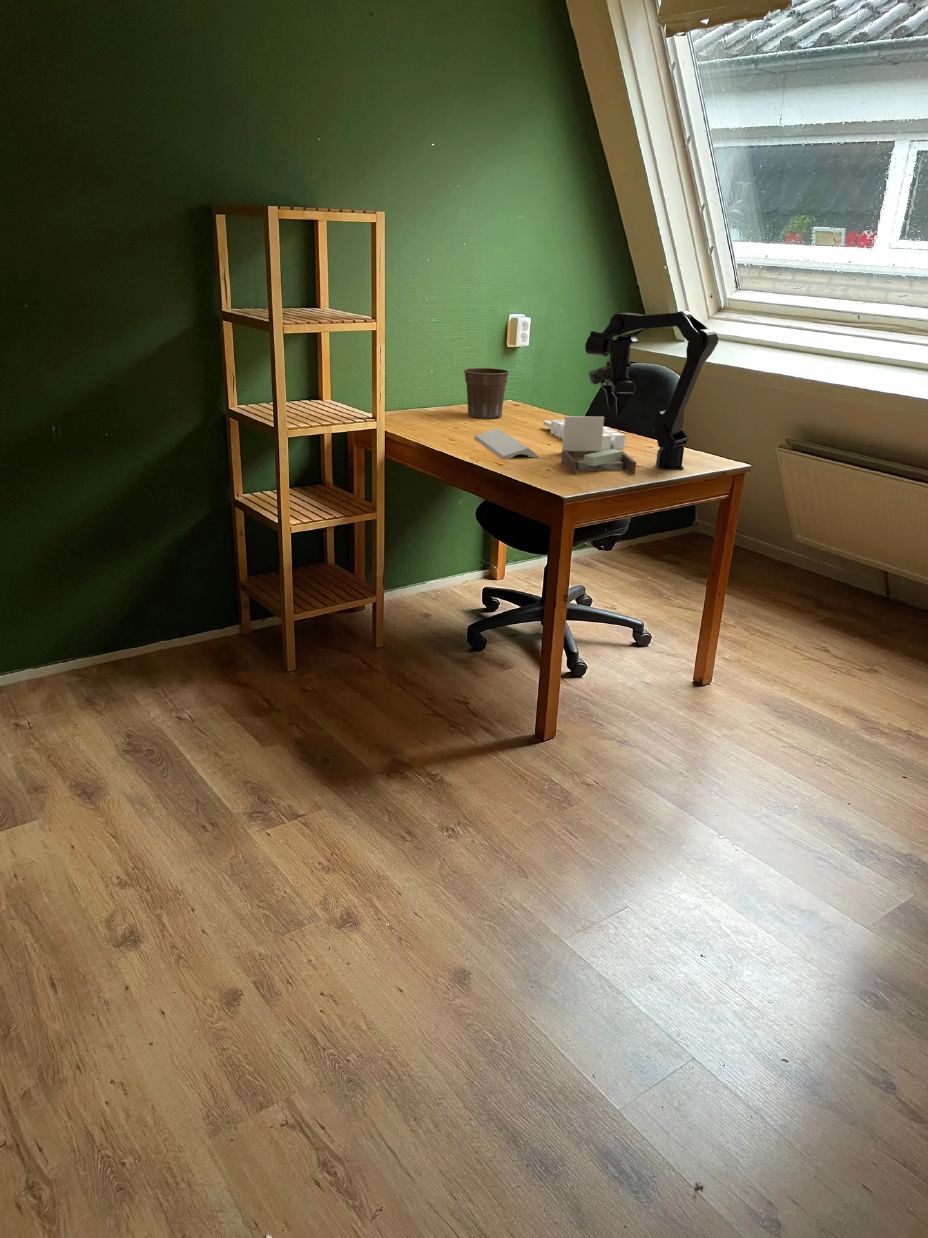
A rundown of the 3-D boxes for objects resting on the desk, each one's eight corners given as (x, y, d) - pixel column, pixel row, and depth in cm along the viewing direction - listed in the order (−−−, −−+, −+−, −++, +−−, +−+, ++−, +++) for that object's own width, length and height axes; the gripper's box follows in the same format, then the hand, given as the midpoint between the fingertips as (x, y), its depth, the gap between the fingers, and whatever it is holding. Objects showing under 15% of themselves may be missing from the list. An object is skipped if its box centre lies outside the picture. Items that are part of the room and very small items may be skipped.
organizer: (587, 436, 277) (541, 415, 307) (586, 452, 279) (540, 429, 309) (625, 434, 281) (575, 414, 312) (623, 450, 283) (574, 428, 313)
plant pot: (458, 411, 333) (459, 366, 326) (501, 411, 336) (503, 367, 329) (466, 420, 318) (468, 373, 312) (511, 420, 321) (513, 373, 315)
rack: (621, 462, 266) (622, 450, 264) (635, 474, 253) (636, 462, 252) (561, 462, 264) (562, 450, 262) (572, 474, 251) (573, 461, 249)
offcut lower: (618, 468, 261) (619, 460, 260) (622, 471, 258) (623, 463, 257) (574, 468, 259) (575, 460, 258) (578, 471, 256) (578, 463, 255)
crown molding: (473, 439, 291) (473, 428, 290) (509, 439, 294) (509, 428, 293) (502, 461, 266) (502, 449, 264) (540, 459, 269) (541, 447, 267)
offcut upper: (611, 457, 263) (612, 448, 262) (621, 459, 260) (622, 451, 259) (583, 463, 254) (584, 454, 253) (592, 466, 252) (593, 457, 251)
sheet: (600, 452, 278) (603, 416, 273) (600, 453, 277) (604, 417, 272) (561, 452, 276) (564, 416, 272) (562, 452, 275) (565, 416, 271)
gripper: (584, 353, 270) (580, 406, 276) (600, 361, 253) (595, 418, 259) (621, 354, 271) (615, 406, 278) (639, 362, 254) (633, 418, 261)
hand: (614, 412), depth 269 cm, fingers open, 9 cm apart
